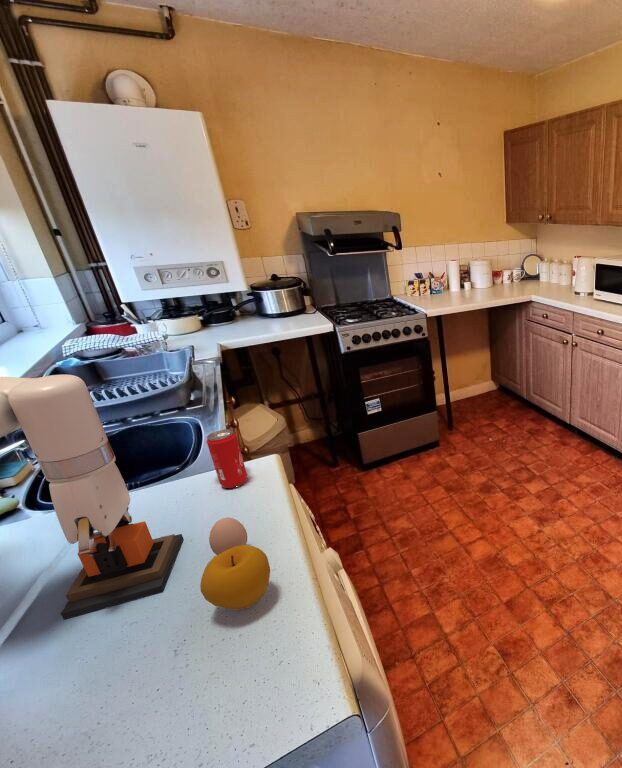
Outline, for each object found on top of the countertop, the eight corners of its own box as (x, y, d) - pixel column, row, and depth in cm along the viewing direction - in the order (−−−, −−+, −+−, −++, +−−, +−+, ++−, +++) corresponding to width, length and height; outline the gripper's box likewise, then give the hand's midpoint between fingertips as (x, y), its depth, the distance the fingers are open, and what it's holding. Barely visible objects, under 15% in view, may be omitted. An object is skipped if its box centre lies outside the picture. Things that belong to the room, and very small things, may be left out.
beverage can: (224, 478, 97) (209, 430, 92) (250, 474, 98) (237, 426, 94) (217, 492, 92) (201, 442, 88) (245, 487, 94) (230, 437, 89)
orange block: (88, 577, 66) (76, 553, 65) (101, 555, 71) (91, 533, 69) (144, 562, 69) (135, 540, 67) (154, 542, 73) (145, 520, 72)
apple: (202, 633, 61) (183, 585, 58) (222, 586, 68) (206, 541, 65) (270, 617, 63) (255, 570, 60) (281, 574, 71) (269, 530, 67)
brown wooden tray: (63, 619, 63) (55, 605, 62) (100, 559, 74) (94, 547, 73) (163, 591, 68) (157, 578, 67) (183, 538, 79) (179, 526, 78)
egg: (253, 557, 74) (242, 522, 71) (216, 571, 71) (203, 535, 69) (249, 539, 78) (239, 505, 76) (215, 552, 75) (203, 517, 73)
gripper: (72, 439, 69) (113, 532, 76) (9, 498, 54) (66, 607, 61) (131, 429, 72) (165, 520, 78) (85, 484, 57) (132, 589, 64)
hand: (121, 557), depth 70 cm, fingers closed on orange block, 4 cm apart
